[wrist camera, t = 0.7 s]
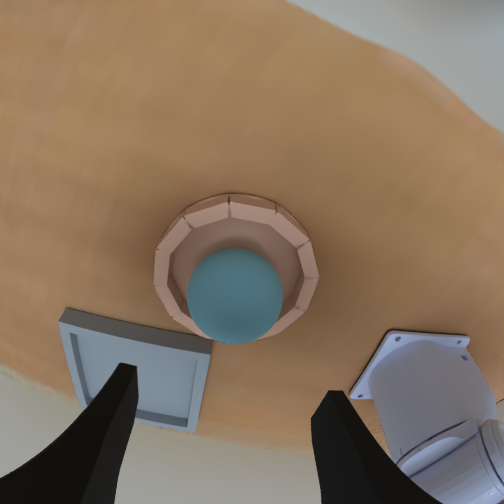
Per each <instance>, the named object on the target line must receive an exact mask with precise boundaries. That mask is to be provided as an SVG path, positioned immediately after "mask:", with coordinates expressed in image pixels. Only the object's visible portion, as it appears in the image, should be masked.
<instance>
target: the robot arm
mask: <svg viewBox="0 0 504 504" xmlns="http://www.w3.org/2000/svg"><path fill="white" fill-rule="evenodd" d="M396 337H397V338H396ZM469 342H470V338H469V337H468V336H461V335H445V334H430V333H417V332H405V331H390V332H388V333H387V335H386V336H385V338H384V340H383V341H382V343H381V345H380V346H379V348H378V350H377V351H376V353H375V355H374V356H373V358H372V359H371V361H370V363H369V364H368V366H367V367H366V369H365V371H364V372H363V374H362V375H361V377H360V378H359V380H358V381H357V383H356V384H355V386H354V387H353V389H352V390H351V392H350V394H349V395H350V398H351V399H373V402H374V405H375V408H376V411H377V414H378V417H379V420H380V423H381V426H382V429H383V432H384V435H385V438H386V442H387V445H388V448H389V451H390V455H391V458H392V460H391V459H390V458H389V456H388V455H387V454H386V453H385V451H384V450H383V449H382V448H381V446H380V445H379V444H378V442H377V441H376V440H375V438H374V437H373V436H372V434H371V433H370V431H369V430H368V428H367V427H366V426H365V424H364V423H363V421H362V420H361V418H360V417H359V415H358V414H357V412H356V410H355V409H354V407H353V406H352V404H351V403H350V401H349V400H348V398H347V396H346V395H345V393H344V392H343V391H334V390H329V391H328V392H327V394H326V395H325V397H324V399H323V400H322V402H321V404H320V405H319V407H318V408H317V410H316V411H315V413H314V414H313V416H312V418H311V433H312V444H313V450H314V456H315V461H316V466H317V472H318V478H319V483H320V489H321V502H322V504H504V423H503V422H502V421H500V420H494V418H495V413H496V402H495V397H494V394H493V391H492V389H491V387H490V386H489V384H488V382H487V381H486V379H485V377H484V376H483V374H482V372H481V371H480V369H479V368H478V366H477V364H476V363H475V361H474V360H473V358H472V356H471V355H470V353H469V352H468V350H467V349H466V346H467V345H468V343H469ZM138 400H139V392H138V374H137V366H135V365H131V364H126V363H122V362H121V363H119V364H118V365H117V367H116V368H115V370H114V372H113V373H112V375H111V376H110V377H109V379H108V380H107V382H106V383H105V384H104V386H103V387H102V389H101V390H100V391H99V392H98V394H97V395H96V396H95V398H94V399H93V400H92V401H91V403H90V404H89V405H88V406H87V407H86V409H85V410H84V411H83V412H82V413H81V414H80V415H79V416H78V418H77V419H76V420H75V421H74V422H73V423H72V424H71V425H70V426H69V427H68V428H67V429H66V430H65V431H64V432H63V433H62V434H61V435H60V436H59V437H58V438H57V439H56V440H54V441H53V442H52V443H51V444H50V445H49V446H47V447H46V448H45V449H44V450H43V451H41V452H40V453H39V454H38V455H36V456H35V457H33V458H32V459H30V460H29V461H28V462H26V463H25V464H23V465H22V466H21V467H19V468H17V469H16V470H14V471H12V472H10V473H9V474H7V475H5V476H3V477H1V478H0V504H114V502H115V494H116V488H117V481H118V476H119V471H120V467H121V464H122V461H123V457H124V454H125V450H126V447H127V444H128V441H129V437H130V434H131V430H132V427H133V424H134V420H135V415H136V410H137V405H138Z"/></svg>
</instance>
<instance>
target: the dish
mask: <svg viewBox="0 0 504 504" xmlns="http://www.w3.org/2000/svg"><path fill="white" fill-rule="evenodd" d="M229 248H241V249H246V250H250V251H252V252H255V253H257V254H259V255H261V256H262V257H263V258H265V259H266V260H267V261H268V262H269V263H270V264H271V265H272V266H273V267H274V269H275V271H276V272H277V274H278V276H279V278H280V281H281V284H282V288H283V304H282V309H281V312H280V314H279V317H278V319H277V321H276V322H275V324H274V325H273V326H272V328H271V329H270V330H269V331H268V332H267V333H265V334H264V335H263V336H261V337H260V338H258V339H262V338H266V337H270V336H274V335H277V334H276V333H278V334H279V333H280V332H281V331H283V330H284V329H285V328H286V327H288V326H289V325H290V324H291V323H293V322H294V321H295V320H296V319H298V318H299V317H300V316H301V315H303V314H304V313H305V312H306V311H305V310H307V309H308V306H309V304H310V301H311V299H312V296H313V293H314V291H315V288H316V286H317V283H318V280H319V273H318V269H317V265H316V261H315V257H314V253H313V249H312V245H311V241H310V239H309V236H308V234H307V232H306V230H305V229H304V228H303V227H302V226H301V225H300V223H299V222H298V221H297V220H296V219H295V218H294V217H293V216H292V215H291V214H290V213H289V212H288V211H287V210H285V209H284V208H283V207H281V206H279V205H278V204H276V203H274V202H272V201H270V200H267V199H265V198H262V197H258V196H255V195H250V194H242V193H229V194H221V195H216V196H212V197H208V198H206V199H203V200H201V201H198V202H196V203H195V204H193V205H191V206H189V207H188V208H187V209H185V210H184V211H183V212H182V213H180V214H179V215H178V216H177V218H176V219H175V220H174V221H173V222H172V224H171V225H170V226H169V228H168V230H167V231H166V233H165V234H164V235H163V237H162V238H161V240H160V242H159V244H158V246H157V248H156V254H155V266H154V281H153V285H154V288H155V290H156V292H157V294H158V295H159V297H160V299H161V301H162V303H163V304H164V306H165V308H166V310H167V311H168V313H169V315H170V317H171V316H172V318H173V319H174V320H176V321H177V322H179V323H180V324H182V325H183V326H185V327H186V328H188V329H190V330H191V331H193V332H194V333H196V334H198V335H199V336H201V337H203V336H204V338H207V339H212V338H210V337H209V336H207V335H206V334H205V333H203V332H202V331H201V330H200V329H199V328H198V327H197V325H196V324H195V322H194V321H193V319H192V317H191V315H190V312H189V309H188V306H187V287H188V282H189V280H190V277H191V275H192V273H193V271H194V270H195V268H196V267H197V266H198V264H199V263H200V262H201V261H202V260H203V259H205V258H206V257H207V256H209V255H210V254H212V253H214V252H217V251H220V250H223V249H229ZM258 339H256V340H258Z"/></svg>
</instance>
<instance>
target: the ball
mask: <svg viewBox="0 0 504 504" xmlns="http://www.w3.org/2000/svg"><path fill="white" fill-rule="evenodd" d="M282 304H283V288H282V284H281V281H280V278H279V276H278V274H277V272H276V271H275V269H274V267H273V266H272V265H271V264H270V263H269V262H268V261H267V260H266V259H265V258H263V257H262V256H261V255H259V254H257V253H255V252H252V251H250V250H246V249H241V248H229V249H223V250H220V251H217V252H214V253H212V254H210V255H209V256H207V257H206V258H205V259H203V260H202V261H201V262H200V263H199V264H198V266H197V267H196V268H195V270H194V271H193V273H192V275H191V277H190V280H189V282H188V287H187V306H188V309H189V312H190V315H191V317H192V319H193V321H194V322H195V324H196V325H197V327H198V328H199V329H200V330H201V331H202V332H203V333H205V334H206V335H207V336H209V337H210V338H212V339H214V340H216V341H219V342H222V343H226V344H244V343H248V342H251V341H254V340H256V339H258V338H260V337H261V336H263V335H264V334H265V333H267V332H268V331H269V330H270V329H271V328H272V326H273V325H274V324H275V322H276V321H277V319H278V317H279V314H280V312H281V309H282Z"/></svg>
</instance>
